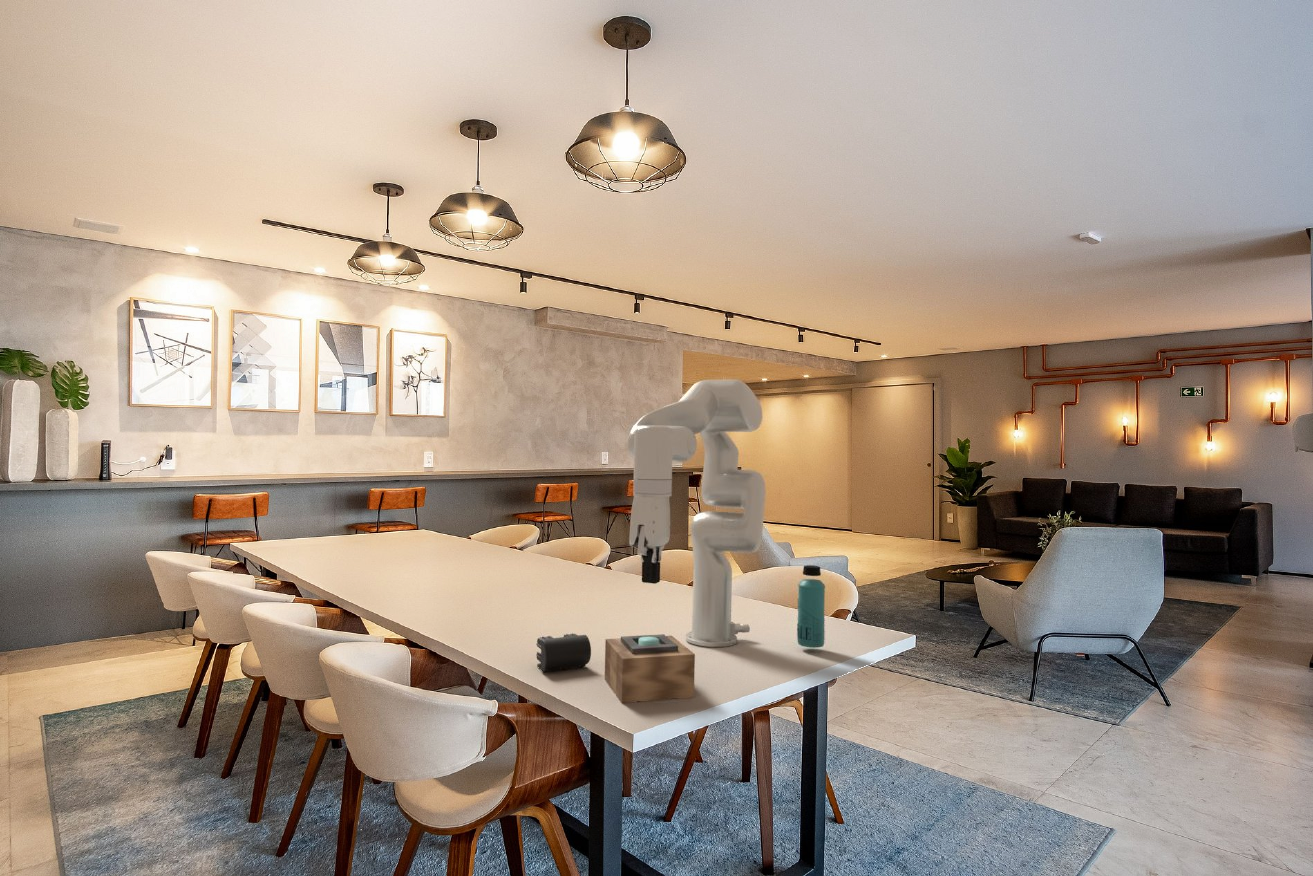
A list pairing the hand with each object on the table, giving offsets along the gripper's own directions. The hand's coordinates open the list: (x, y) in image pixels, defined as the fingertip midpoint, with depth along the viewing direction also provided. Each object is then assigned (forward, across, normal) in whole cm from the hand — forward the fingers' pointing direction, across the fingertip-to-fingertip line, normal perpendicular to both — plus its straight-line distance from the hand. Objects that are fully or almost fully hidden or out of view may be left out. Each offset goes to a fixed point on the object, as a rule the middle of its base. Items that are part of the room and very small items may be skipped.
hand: (650, 582), depth 138 cm
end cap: (+21, -3, -21) cm, 30 cm away
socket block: (+20, 0, 0) cm, 20 cm away
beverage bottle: (+21, -41, +24) cm, 52 cm away
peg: (+20, 0, 0) cm, 20 cm away
